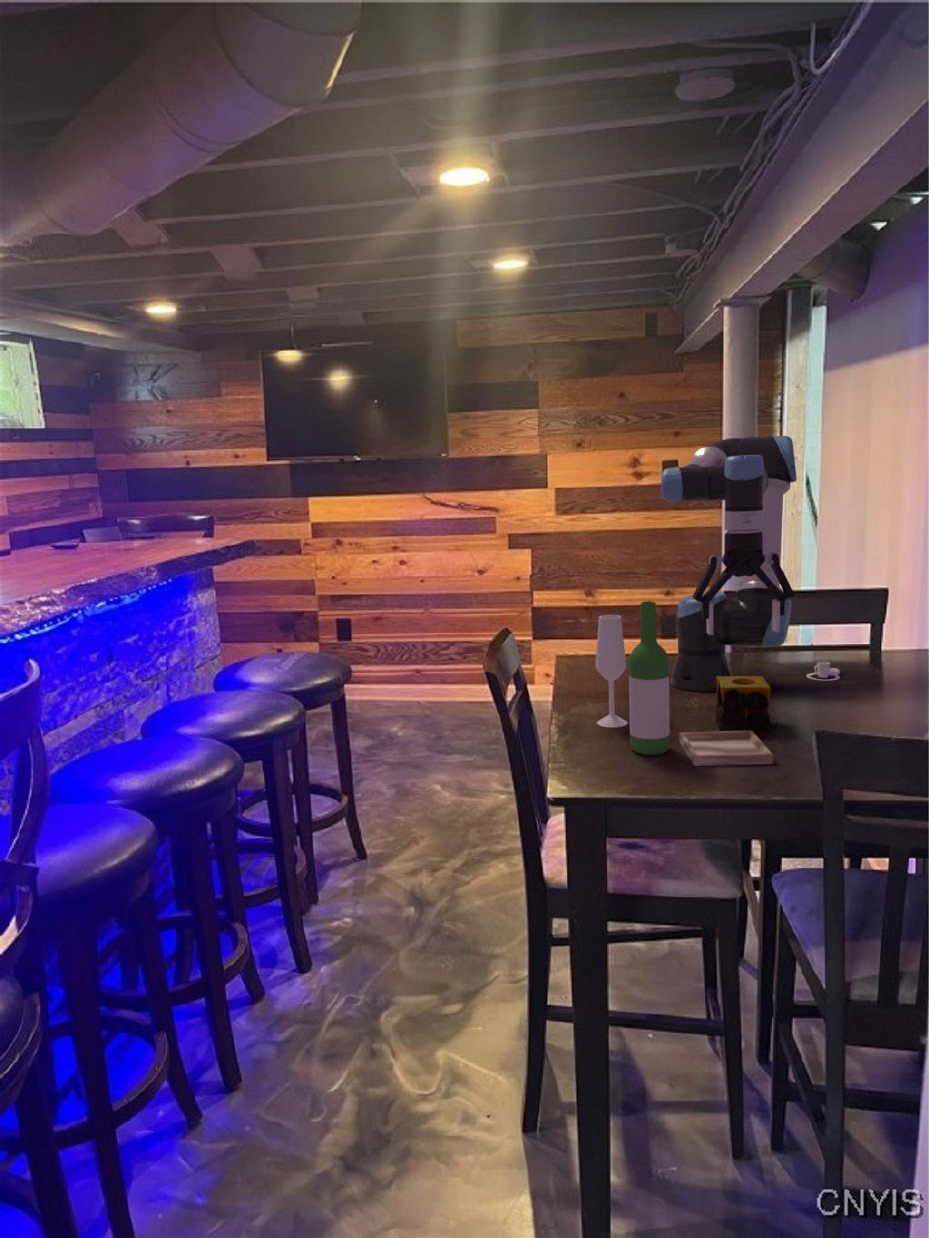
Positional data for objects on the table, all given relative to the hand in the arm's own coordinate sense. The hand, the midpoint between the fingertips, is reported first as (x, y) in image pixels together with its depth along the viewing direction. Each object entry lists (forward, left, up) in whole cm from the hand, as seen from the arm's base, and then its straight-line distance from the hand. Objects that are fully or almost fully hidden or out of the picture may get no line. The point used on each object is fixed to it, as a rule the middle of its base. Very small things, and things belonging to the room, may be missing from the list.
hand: (742, 632), depth 178 cm
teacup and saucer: (-37, +33, -21) cm, 54 cm away
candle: (0, 0, -21) cm, 21 cm away
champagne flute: (-5, -27, -21) cm, 34 cm away
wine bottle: (+14, -22, -21) cm, 33 cm away
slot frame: (+16, -8, -20) cm, 27 cm away
